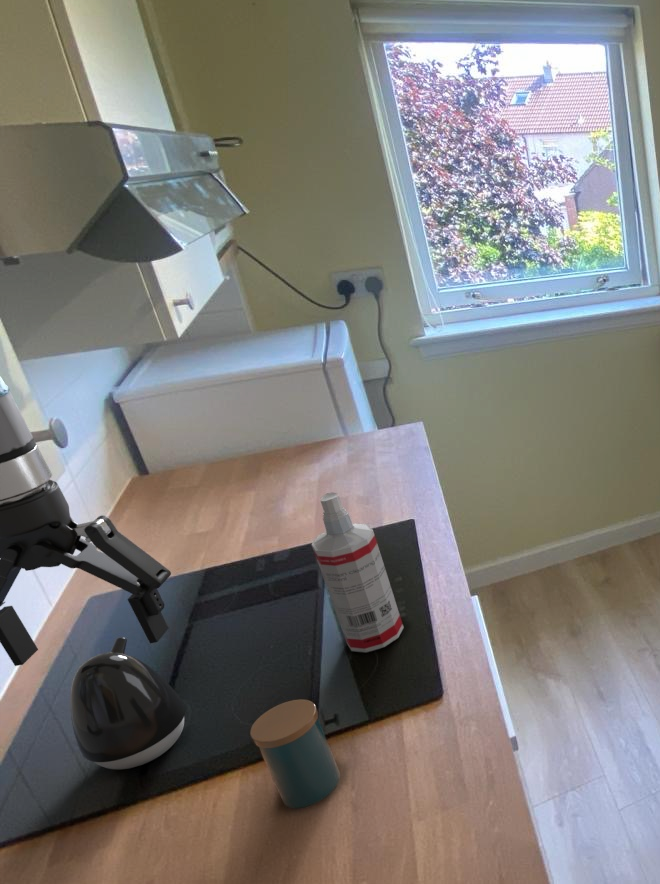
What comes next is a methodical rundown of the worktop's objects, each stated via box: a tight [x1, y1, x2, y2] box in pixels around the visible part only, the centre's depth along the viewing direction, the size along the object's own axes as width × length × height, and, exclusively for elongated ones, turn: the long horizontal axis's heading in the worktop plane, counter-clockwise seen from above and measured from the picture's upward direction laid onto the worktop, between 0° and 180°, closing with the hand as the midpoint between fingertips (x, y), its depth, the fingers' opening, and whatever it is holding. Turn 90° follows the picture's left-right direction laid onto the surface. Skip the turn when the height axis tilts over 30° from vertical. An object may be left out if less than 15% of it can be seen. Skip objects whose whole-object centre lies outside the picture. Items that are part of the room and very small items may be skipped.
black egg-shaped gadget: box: [69, 636, 186, 770], centre depth 91 cm, size 10×10×15 cm
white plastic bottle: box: [311, 491, 405, 653], centre depth 109 cm, size 8×8×25 cm
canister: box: [249, 698, 341, 809], centre depth 86 cm, size 6×6×11 cm
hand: (94, 646), depth 88 cm, fingers open, 13 cm apart
